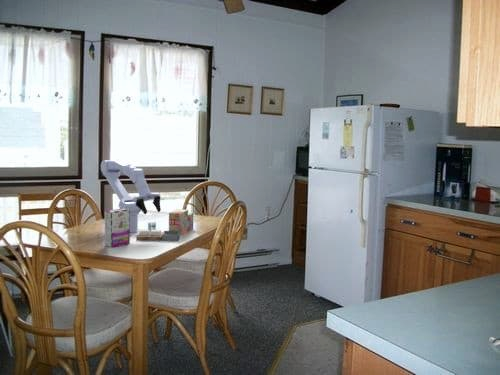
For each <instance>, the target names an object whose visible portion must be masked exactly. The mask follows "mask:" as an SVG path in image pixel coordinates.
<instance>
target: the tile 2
mask: <svg viewBox="0 0 500 375" xmlns="http://www.w3.org/2000/svg"><path fill="white" fill-rule="evenodd" d="M150 232H151V235H157V236H160V235H161V232H162V229H150Z"/></svg>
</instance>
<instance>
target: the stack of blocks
mask: <svg viewBox="0 0 500 375" xmlns="http://www.w3.org/2000/svg"><path fill="white" fill-rule="evenodd" d="M193 229H194V212H189V209H182V208H181V209H179V208H178V209H174V210H173V211H169V212H168V231H180V237H182V236H184V235H186V234H187V233H189V232H190V231H192V230H193Z"/></svg>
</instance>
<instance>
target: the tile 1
mask: <svg viewBox="0 0 500 375" xmlns="http://www.w3.org/2000/svg"><path fill="white" fill-rule="evenodd" d="M138 231H139V232H138V234H139V235H149V234H150V232H151V229H144V228H142V229H139V230H138Z"/></svg>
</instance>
